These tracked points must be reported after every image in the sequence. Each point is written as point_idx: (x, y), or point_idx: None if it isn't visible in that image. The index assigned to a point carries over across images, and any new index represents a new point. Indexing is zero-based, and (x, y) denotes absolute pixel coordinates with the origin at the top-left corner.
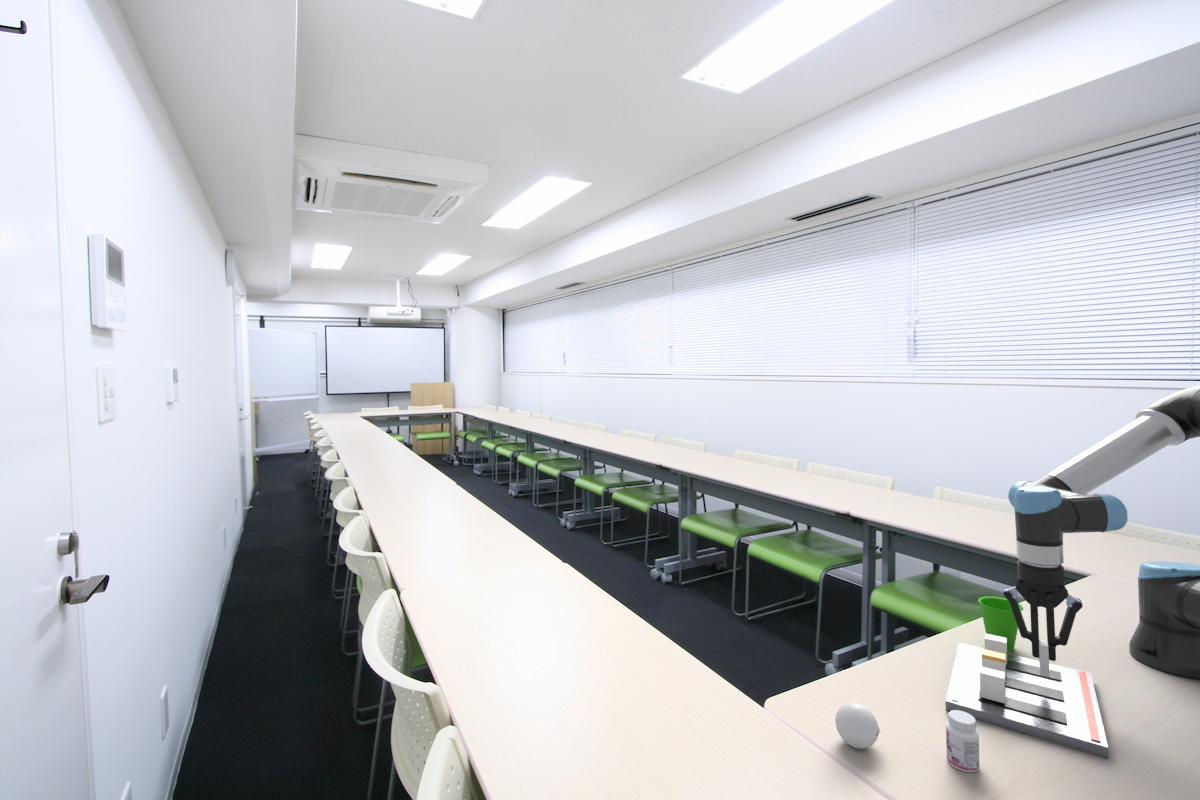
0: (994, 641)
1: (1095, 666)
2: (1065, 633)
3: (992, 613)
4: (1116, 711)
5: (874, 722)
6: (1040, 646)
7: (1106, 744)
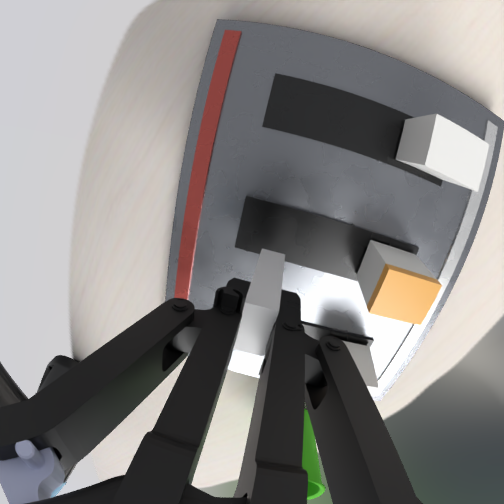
0: None
1: None
2: (147, 331)
3: (308, 469)
4: (151, 234)
5: None
6: (273, 306)
7: (216, 28)
